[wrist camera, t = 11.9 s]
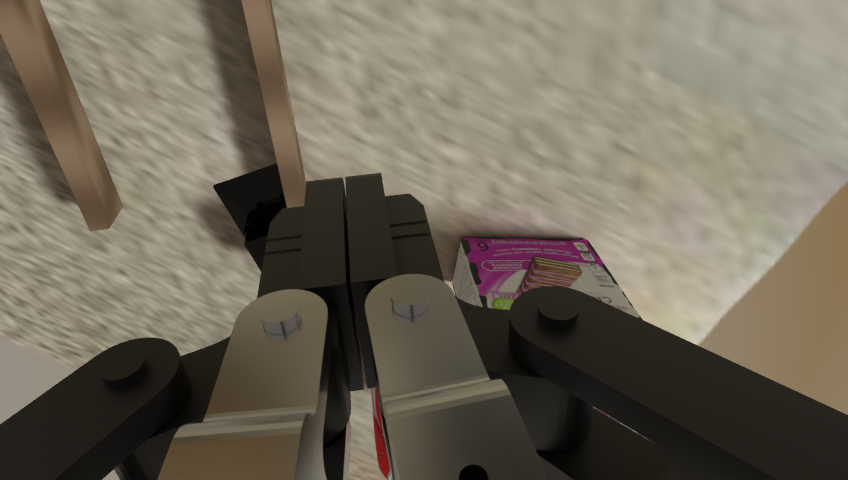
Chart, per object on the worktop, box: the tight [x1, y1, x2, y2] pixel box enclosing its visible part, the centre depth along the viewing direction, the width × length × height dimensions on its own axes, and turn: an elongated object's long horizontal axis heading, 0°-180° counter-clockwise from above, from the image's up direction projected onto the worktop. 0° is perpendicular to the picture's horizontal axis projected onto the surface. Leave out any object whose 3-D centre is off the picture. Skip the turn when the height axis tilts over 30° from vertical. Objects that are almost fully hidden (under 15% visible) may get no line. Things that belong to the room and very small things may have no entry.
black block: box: [214, 164, 287, 272], centre depth 41 cm, size 12×7×5 cm, turn 18°
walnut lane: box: [0, 0, 306, 231], centre depth 34 cm, size 18×14×3 cm
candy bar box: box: [452, 237, 642, 436], centre depth 41 cm, size 11×5×16 cm, turn 84°
